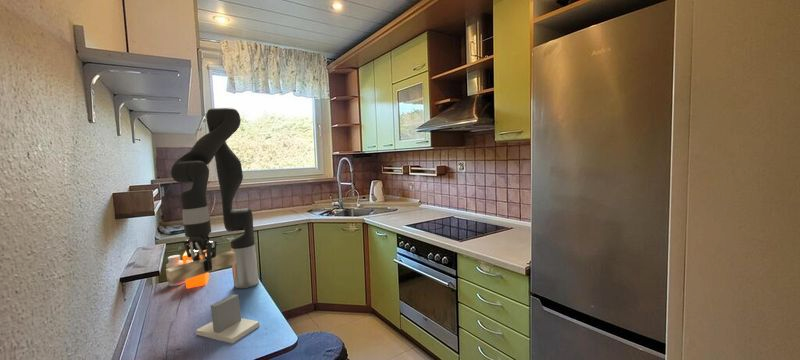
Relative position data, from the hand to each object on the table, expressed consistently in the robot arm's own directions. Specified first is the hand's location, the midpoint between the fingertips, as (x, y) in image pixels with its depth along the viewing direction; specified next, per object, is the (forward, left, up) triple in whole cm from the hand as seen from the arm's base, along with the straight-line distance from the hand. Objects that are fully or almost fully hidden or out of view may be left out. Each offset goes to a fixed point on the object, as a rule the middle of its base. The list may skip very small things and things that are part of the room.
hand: (203, 269), depth 110 cm
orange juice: (-38, +22, -18) cm, 47 cm away
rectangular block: (0, 0, -1) cm, 1 cm away
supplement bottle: (-48, +19, -18) cm, 54 cm away
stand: (+13, -3, -18) cm, 22 cm away
